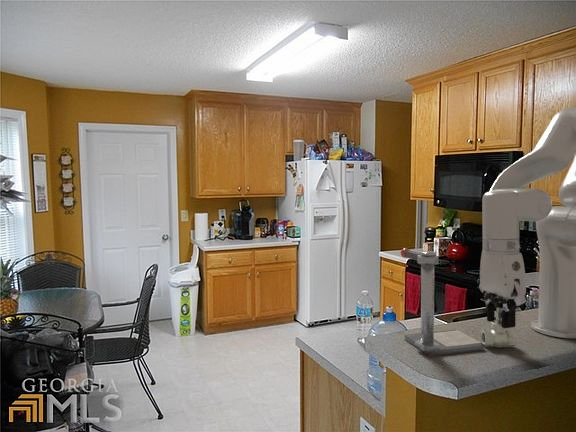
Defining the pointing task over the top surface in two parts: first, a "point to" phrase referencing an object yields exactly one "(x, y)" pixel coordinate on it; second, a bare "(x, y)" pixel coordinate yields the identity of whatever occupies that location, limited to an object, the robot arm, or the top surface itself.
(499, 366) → the top surface
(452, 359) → the top surface
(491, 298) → the valve
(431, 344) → the press
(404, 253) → the lever
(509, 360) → the top surface
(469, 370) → the top surface
